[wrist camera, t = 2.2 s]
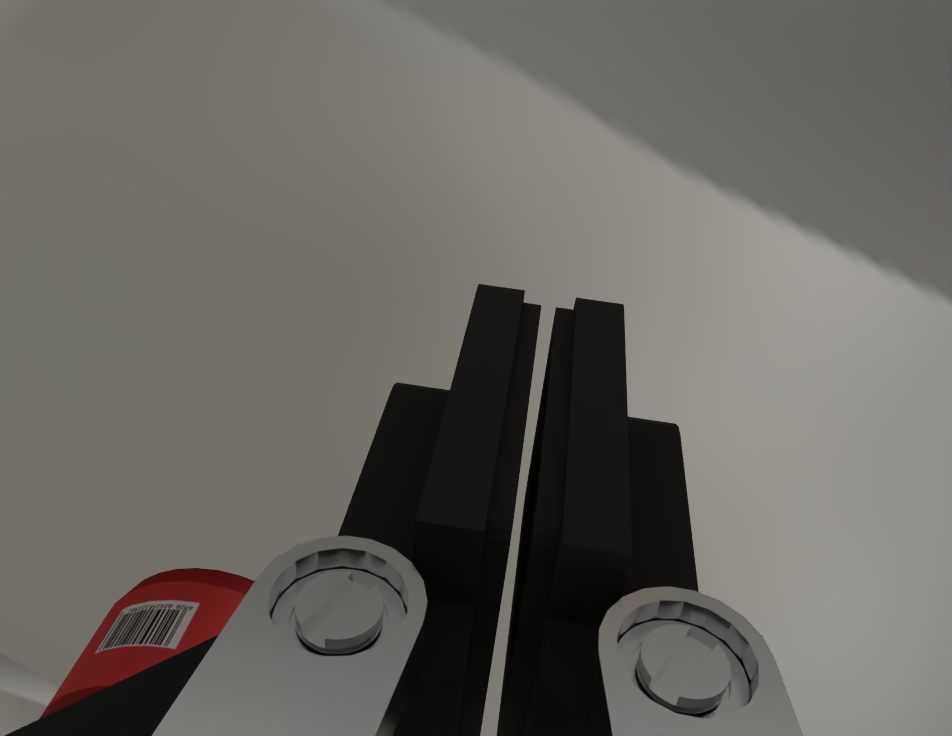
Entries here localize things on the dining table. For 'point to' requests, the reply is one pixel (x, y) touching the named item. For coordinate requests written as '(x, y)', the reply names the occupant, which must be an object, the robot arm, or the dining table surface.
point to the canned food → (153, 628)
